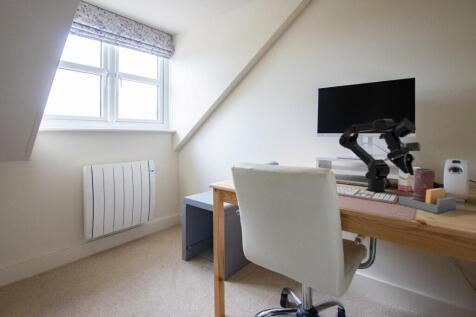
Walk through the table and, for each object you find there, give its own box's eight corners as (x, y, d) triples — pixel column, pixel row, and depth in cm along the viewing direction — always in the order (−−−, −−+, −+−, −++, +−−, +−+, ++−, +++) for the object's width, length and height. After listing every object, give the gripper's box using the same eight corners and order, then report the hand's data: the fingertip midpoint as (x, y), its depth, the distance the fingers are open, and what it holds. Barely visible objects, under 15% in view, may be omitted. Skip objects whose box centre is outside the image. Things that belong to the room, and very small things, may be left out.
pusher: (425, 208, 96) (426, 189, 96) (439, 205, 100) (440, 187, 99) (432, 209, 94) (433, 191, 93) (446, 206, 98) (448, 188, 97)
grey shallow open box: (398, 204, 104) (399, 192, 103) (417, 200, 109) (418, 189, 108) (436, 214, 91) (438, 200, 91) (456, 210, 96) (457, 197, 96)
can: (433, 206, 98) (436, 171, 97) (413, 204, 102) (415, 169, 100) (431, 203, 103) (434, 169, 102) (412, 200, 107) (415, 167, 105)
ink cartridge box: (407, 192, 124) (409, 162, 123) (397, 189, 129) (399, 161, 127) (419, 190, 127) (421, 161, 126) (409, 188, 132) (411, 160, 130)
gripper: (406, 130, 105) (425, 164, 99) (418, 138, 118) (435, 169, 112) (379, 142, 112) (395, 175, 106) (393, 148, 125) (408, 178, 119)
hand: (409, 174), depth 110 cm, fingers open, 9 cm apart
